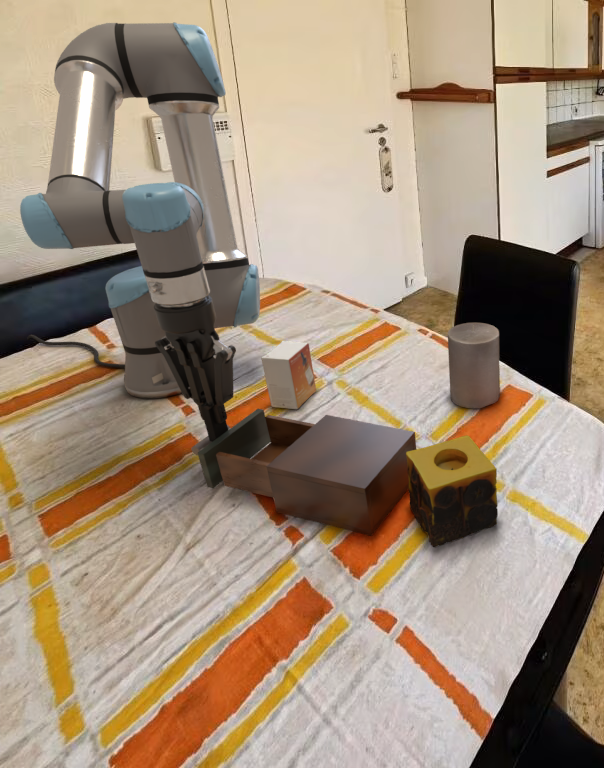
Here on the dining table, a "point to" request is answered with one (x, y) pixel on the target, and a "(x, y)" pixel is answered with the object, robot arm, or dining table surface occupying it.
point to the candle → (452, 490)
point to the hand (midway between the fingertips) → (219, 437)
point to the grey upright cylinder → (474, 364)
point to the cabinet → (343, 474)
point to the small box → (289, 374)
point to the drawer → (248, 451)
